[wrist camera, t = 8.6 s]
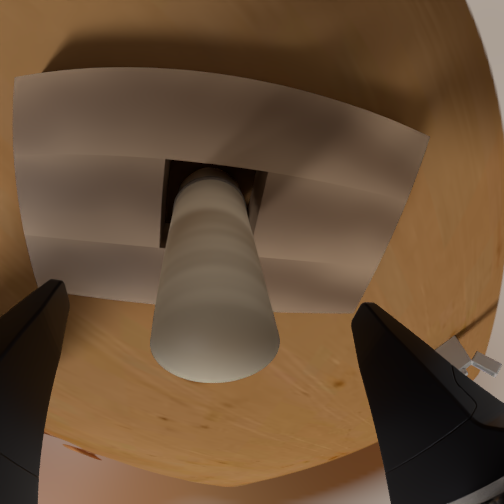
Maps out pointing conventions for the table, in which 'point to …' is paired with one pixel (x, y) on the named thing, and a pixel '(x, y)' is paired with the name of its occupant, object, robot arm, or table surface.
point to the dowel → (212, 287)
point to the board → (212, 152)
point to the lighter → (467, 358)
